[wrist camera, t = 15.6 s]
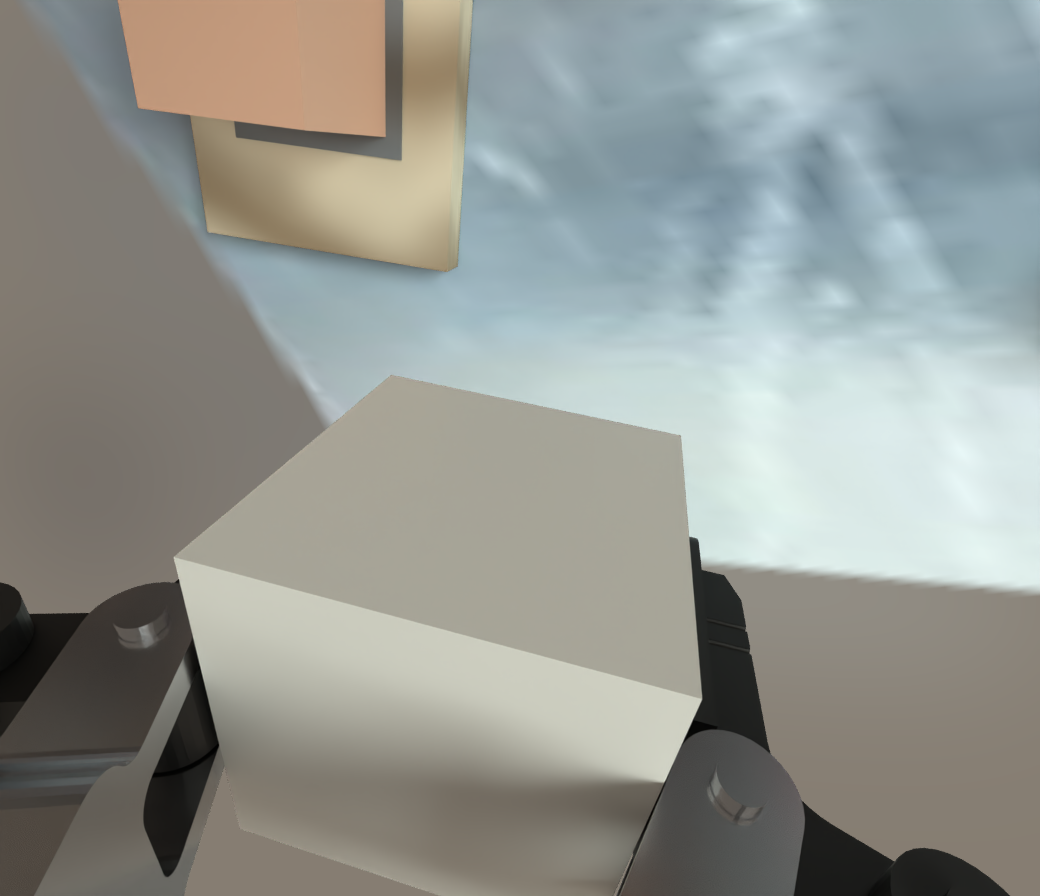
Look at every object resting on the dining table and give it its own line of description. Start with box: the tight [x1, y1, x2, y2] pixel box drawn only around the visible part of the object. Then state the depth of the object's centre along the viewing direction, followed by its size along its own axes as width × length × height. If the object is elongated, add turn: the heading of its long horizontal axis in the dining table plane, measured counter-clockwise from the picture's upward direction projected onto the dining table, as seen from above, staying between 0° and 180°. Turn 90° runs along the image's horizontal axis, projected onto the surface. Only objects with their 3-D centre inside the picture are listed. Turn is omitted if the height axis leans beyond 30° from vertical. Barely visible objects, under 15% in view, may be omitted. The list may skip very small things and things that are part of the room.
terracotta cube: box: [118, 0, 386, 137], centre depth 19 cm, size 6×6×6 cm
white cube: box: [174, 375, 702, 896], centre depth 8 cm, size 5×5×5 cm
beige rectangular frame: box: [190, 0, 473, 272], centre depth 22 cm, size 16×12×2 cm
